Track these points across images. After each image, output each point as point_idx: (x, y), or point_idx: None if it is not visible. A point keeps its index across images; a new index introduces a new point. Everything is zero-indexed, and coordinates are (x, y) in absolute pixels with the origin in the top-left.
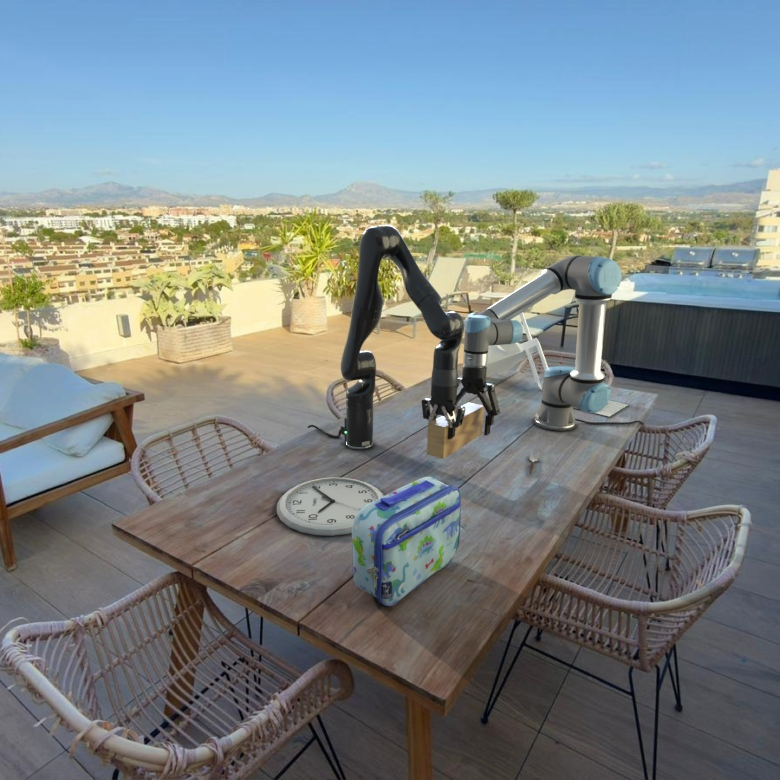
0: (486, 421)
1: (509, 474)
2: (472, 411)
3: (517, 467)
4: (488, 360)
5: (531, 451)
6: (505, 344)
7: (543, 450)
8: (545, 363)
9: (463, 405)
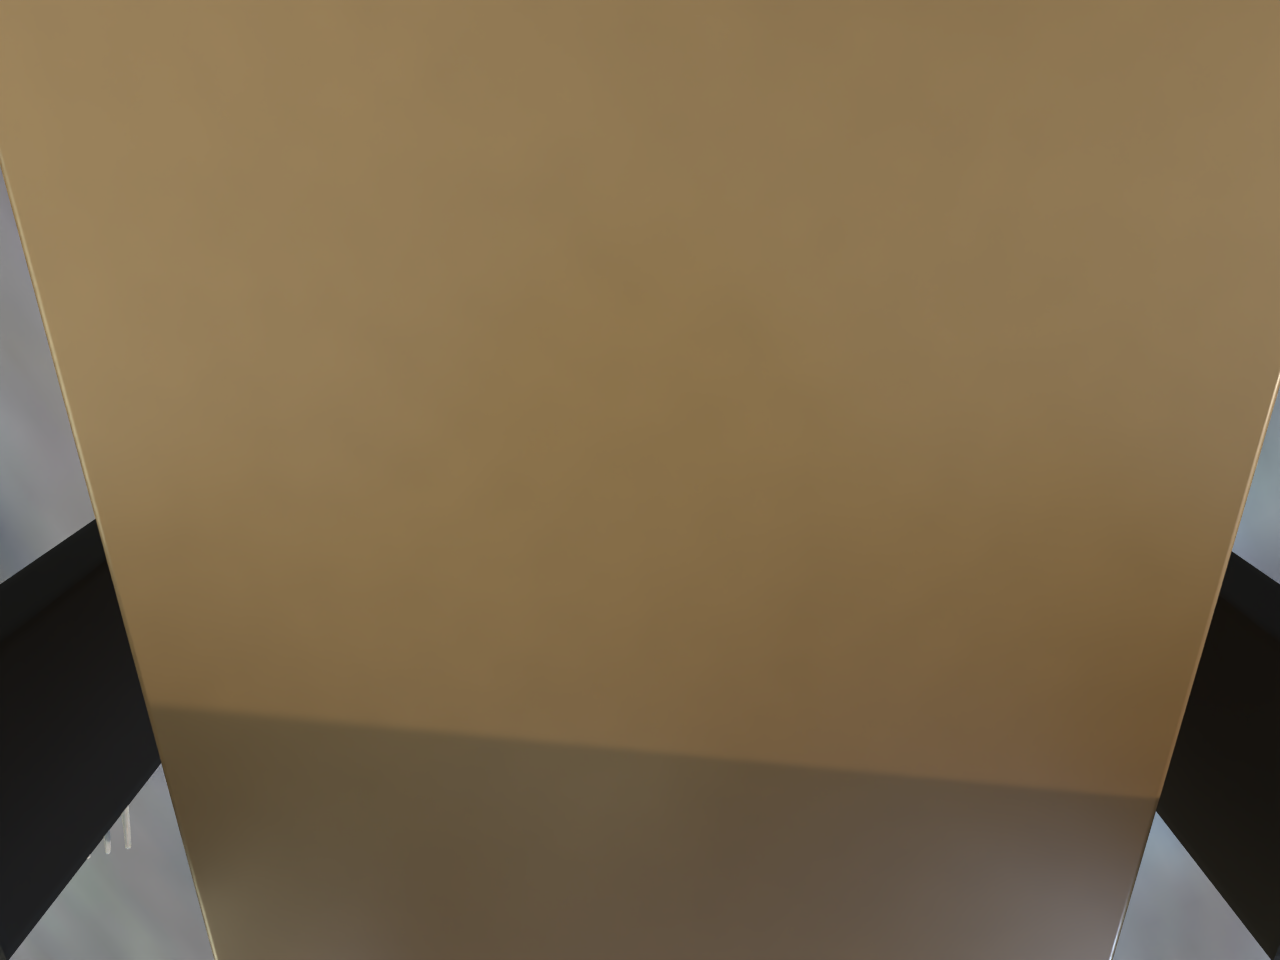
0: (12, 599)
1: (15, 256)
2: (129, 424)
3: (80, 483)
4: None
5: (126, 826)
6: None
7: (164, 949)
8: None
9: (1054, 920)
